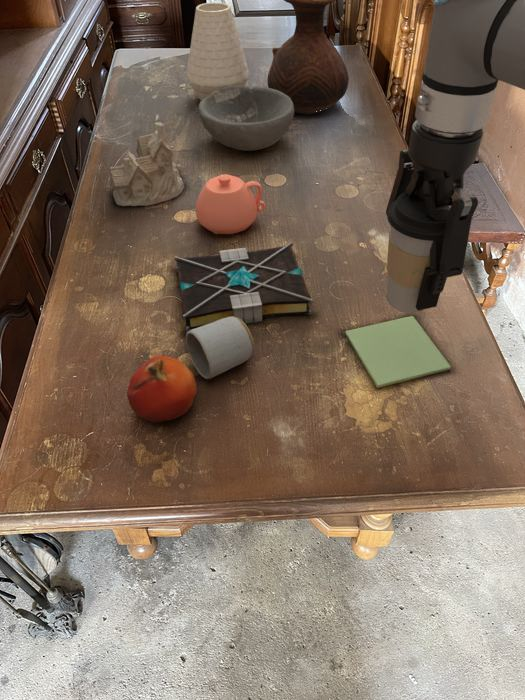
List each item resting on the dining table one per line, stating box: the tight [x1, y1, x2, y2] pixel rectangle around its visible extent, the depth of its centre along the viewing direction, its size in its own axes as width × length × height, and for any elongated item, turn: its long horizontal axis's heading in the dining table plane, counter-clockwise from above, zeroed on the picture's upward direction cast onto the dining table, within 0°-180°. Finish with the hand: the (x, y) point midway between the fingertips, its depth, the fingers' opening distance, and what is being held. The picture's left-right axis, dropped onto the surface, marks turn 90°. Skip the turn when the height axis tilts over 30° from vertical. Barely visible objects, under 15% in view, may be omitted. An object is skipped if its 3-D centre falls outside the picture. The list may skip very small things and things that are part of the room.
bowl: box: [197, 85, 295, 151], centre depth 132 cm, size 23×22×10 cm
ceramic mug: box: [185, 316, 255, 380], centre depth 81 cm, size 11×8×8 cm
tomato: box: [126, 355, 198, 423], centre depth 74 cm, size 9×9×8 cm
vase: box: [185, 2, 250, 102], centre depth 146 cm, size 17×17×23 cm
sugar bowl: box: [195, 173, 266, 235], centre depth 106 cm, size 12×14×10 cm
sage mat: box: [344, 315, 452, 389], centre depth 84 cm, size 12×12×1 cm
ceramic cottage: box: [109, 121, 185, 207], centre depth 115 cm, size 16×16×15 cm
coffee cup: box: [385, 192, 448, 314], centre depth 71 cm, size 9×9×15 cm
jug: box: [266, 0, 350, 115], centre depth 140 cm, size 22×22×30 cm
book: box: [174, 241, 314, 333], centre depth 93 cm, size 22×17×5 cm
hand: (410, 287), depth 75 cm, fingers closed on coffee cup, 8 cm apart
